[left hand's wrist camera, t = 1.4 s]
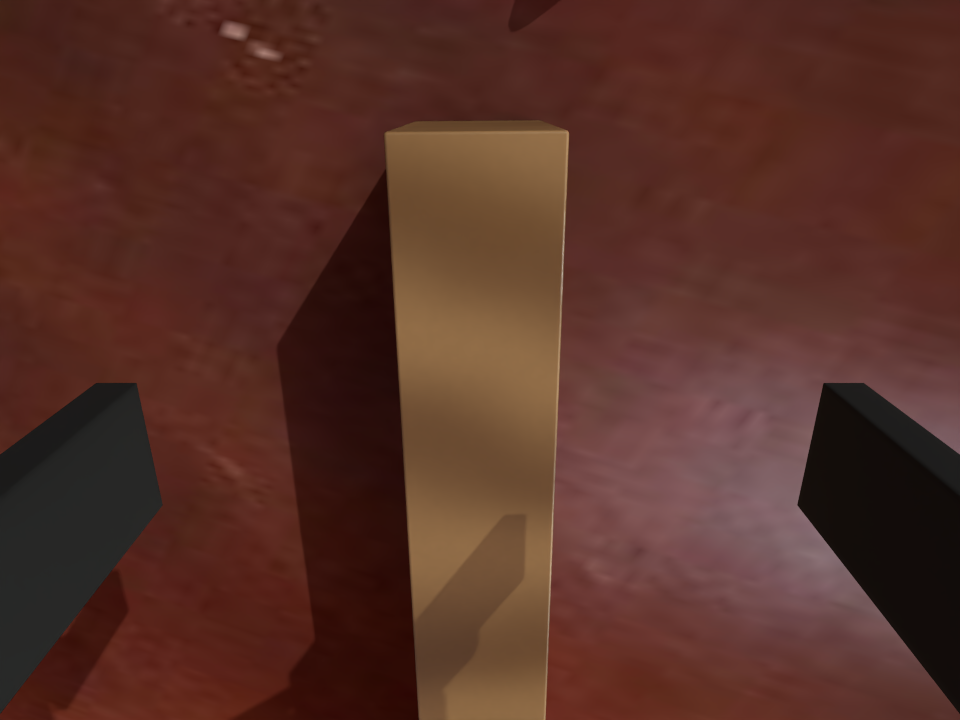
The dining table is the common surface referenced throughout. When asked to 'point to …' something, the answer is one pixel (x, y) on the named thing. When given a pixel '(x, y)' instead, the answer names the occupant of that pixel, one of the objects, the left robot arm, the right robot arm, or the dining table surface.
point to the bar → (479, 402)
